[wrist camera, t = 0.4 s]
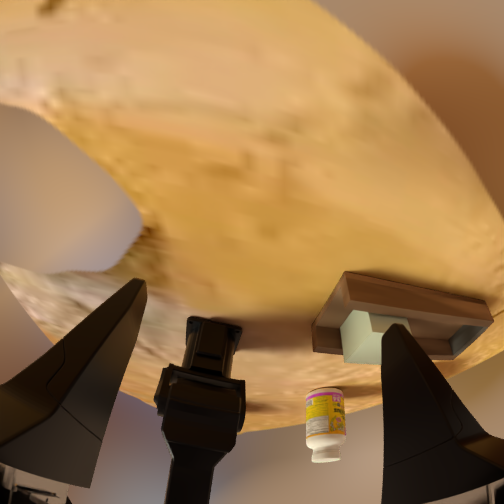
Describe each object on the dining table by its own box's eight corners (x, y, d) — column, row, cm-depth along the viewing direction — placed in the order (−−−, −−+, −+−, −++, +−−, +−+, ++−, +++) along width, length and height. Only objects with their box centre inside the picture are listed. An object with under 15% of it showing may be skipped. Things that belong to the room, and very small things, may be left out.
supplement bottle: (346, 395, 46) (350, 459, 36) (312, 401, 49) (313, 464, 39) (337, 383, 42) (341, 455, 33) (300, 390, 45) (299, 460, 35)
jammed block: (375, 332, 31) (381, 364, 28) (339, 327, 31) (344, 362, 27) (401, 300, 27) (412, 336, 24) (363, 294, 27) (372, 331, 23)
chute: (446, 340, 34) (452, 359, 31) (311, 325, 32) (313, 351, 29) (484, 300, 28) (494, 321, 25) (344, 271, 26) (350, 300, 24)
